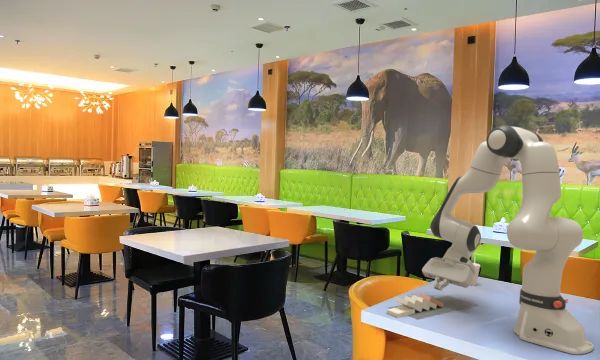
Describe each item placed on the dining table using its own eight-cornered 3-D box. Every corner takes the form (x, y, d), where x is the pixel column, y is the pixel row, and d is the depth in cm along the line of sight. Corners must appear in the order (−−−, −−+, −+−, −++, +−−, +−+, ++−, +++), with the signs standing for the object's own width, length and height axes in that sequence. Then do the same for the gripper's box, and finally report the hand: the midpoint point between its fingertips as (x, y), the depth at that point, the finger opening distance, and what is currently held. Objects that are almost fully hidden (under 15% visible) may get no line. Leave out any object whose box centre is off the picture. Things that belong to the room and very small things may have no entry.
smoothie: (481, 286, 207) (483, 256, 207) (467, 285, 207) (469, 255, 207) (476, 283, 214) (478, 254, 213) (462, 282, 214) (464, 253, 213)
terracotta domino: (433, 300, 174) (419, 293, 169) (444, 303, 169) (430, 297, 165) (431, 304, 173) (418, 297, 168) (442, 307, 169) (429, 301, 164)
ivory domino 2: (411, 304, 166) (397, 296, 161) (422, 307, 162) (408, 300, 157) (410, 308, 166) (395, 300, 161) (421, 312, 162) (406, 304, 157)
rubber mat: (477, 306, 175) (477, 305, 175) (417, 321, 154) (417, 319, 154) (447, 297, 186) (447, 295, 186) (387, 309, 165) (387, 307, 165)
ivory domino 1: (404, 305, 164) (387, 309, 159) (414, 309, 160) (397, 313, 154) (404, 309, 164) (386, 314, 159) (414, 313, 160) (397, 318, 155)
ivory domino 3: (419, 302, 169) (405, 295, 164) (429, 306, 165) (415, 299, 160) (417, 306, 168) (403, 299, 164) (428, 310, 164) (414, 303, 159)
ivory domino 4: (426, 301, 171) (412, 294, 166) (437, 305, 167) (423, 298, 162) (424, 305, 171) (411, 298, 166) (435, 309, 167) (422, 302, 162)
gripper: (429, 251, 183) (412, 277, 178) (474, 261, 167) (457, 290, 161) (435, 261, 186) (418, 287, 181) (480, 272, 169) (463, 301, 164)
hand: (437, 288), depth 171 cm, fingers closed
